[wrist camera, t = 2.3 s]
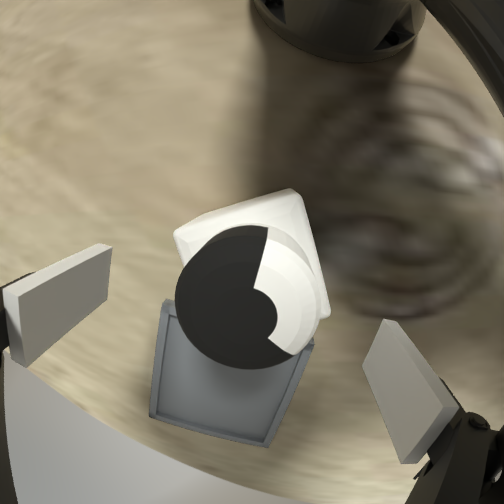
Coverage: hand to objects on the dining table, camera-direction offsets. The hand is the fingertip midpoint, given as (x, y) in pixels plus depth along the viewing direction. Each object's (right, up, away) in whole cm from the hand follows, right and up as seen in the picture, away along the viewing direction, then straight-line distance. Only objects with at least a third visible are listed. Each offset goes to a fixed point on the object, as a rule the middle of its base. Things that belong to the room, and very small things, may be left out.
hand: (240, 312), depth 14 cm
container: (+1, +3, +12) cm, 12 cm away
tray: (-2, -10, +15) cm, 18 cm away
